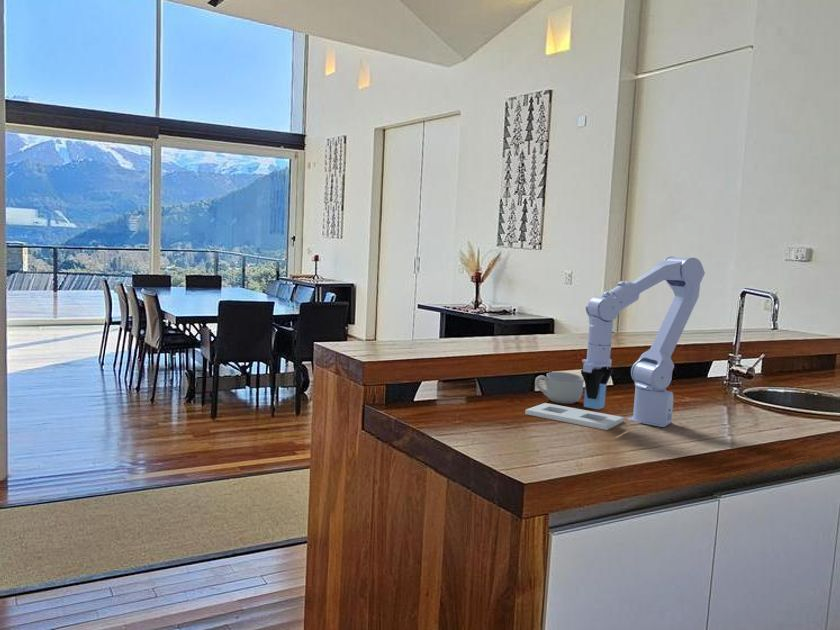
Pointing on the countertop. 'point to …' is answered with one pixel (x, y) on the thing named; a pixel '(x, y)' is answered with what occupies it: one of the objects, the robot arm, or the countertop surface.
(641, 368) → the robot arm
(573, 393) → the teacup
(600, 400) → the plug
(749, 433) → the countertop surface
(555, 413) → the panel
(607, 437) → the countertop surface
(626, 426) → the countertop surface
